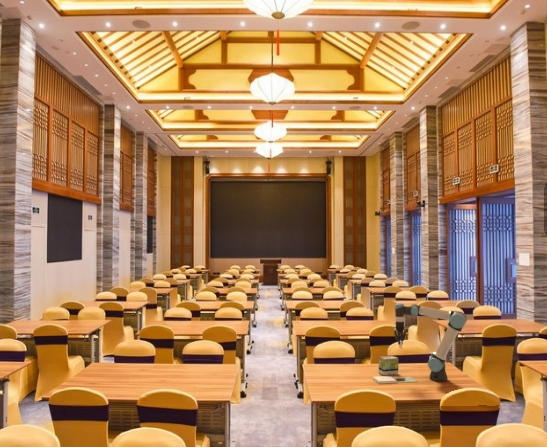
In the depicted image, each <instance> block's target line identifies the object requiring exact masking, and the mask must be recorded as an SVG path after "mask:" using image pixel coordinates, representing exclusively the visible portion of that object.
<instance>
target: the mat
mask: <svg viewBox="0 0 547 447" xmlns="http://www.w3.org/2000/svg"><path fill="white" fill-rule="evenodd" d="M403 377H404V378H405V381H397V383H398V384H400V383H401V384H403V383H418V381H417V379H414V378H412V377H411V376H403ZM397 383H396V384H397Z"/></svg>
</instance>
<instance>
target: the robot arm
mask: <svg viewBox="0 0 547 447" xmlns="http://www.w3.org/2000/svg"><path fill="white" fill-rule="evenodd" d="M394 313H395V315H394V317H395V318H394V319H395V327H394V329H392V331H393V333H394V337H395V340H396V341H397V343H398V348H399V349H400V350H401V349H403V344H404V342H403V341H405V339H406V336H407V332H408V329H407V328H406V327H405V316H418V315H421V316H427V317H431V318H435V319H436V318H437V319H440V320H445V321H448V323H447V329H446V331H445V333H444V335H443V337H442V338H441V341H440V342H439V345H438V347H437V349H436V350H435V351H434V352H433V351H432V352H431V353H430V358H429V359H428V360H427V366H428V368H429V370H430V372H429V380H431V381H435V382H442V383H443V382H447V381H448V374H447V372H446V361H447V355H448V353H449V351H450V349H451V348H452V346H453V343H454V341H455V339H456V337H457V336H458V333H461V332H462V330H463V329H464V326H465V325H466V323H467V320H468V319H467V318H468V317H467V315H466V314H465V313H464V312H462V311H456V310H455V311H454V310H450V311H449V310H445V309H438V308H433V307H427V306H422V305H419V304H411V305H409V306H405V304H404V303H400V302H399V303H395V305H394Z"/></svg>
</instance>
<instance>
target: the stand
mask: <svg viewBox="0 0 547 447" xmlns="http://www.w3.org/2000/svg"><path fill="white" fill-rule="evenodd" d="M392 377H393V376H391V375H383V376H372V380H374V381H375V382H376V383H377V384H379V385H381V384H397V380H395V379H394V378H392Z"/></svg>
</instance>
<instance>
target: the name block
mask: <svg viewBox="0 0 547 447" xmlns="http://www.w3.org/2000/svg"><path fill="white" fill-rule="evenodd" d="M391 377H392V378H394V379H395V380H397V381H405V378H404V377H405V376H391Z"/></svg>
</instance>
